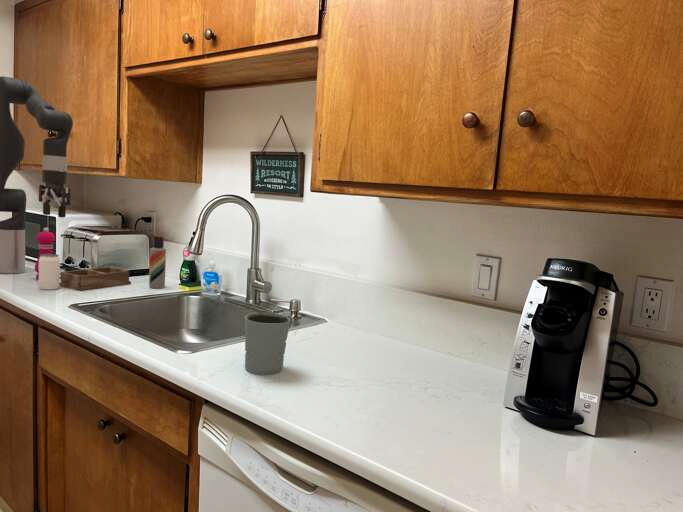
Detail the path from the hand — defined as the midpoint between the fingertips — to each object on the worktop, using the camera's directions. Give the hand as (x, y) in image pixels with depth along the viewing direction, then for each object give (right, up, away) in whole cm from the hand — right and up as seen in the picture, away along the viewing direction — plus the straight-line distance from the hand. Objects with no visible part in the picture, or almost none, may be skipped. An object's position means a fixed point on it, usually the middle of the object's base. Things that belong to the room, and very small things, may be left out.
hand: (54, 216), depth 180 cm
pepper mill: (-13, -23, +17) cm, 31 cm away
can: (-3, -26, +2) cm, 26 cm away
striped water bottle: (+30, -26, +18) cm, 43 cm away
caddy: (+8, -25, +14) cm, 30 cm away
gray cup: (+83, -40, -62) cm, 111 cm away
